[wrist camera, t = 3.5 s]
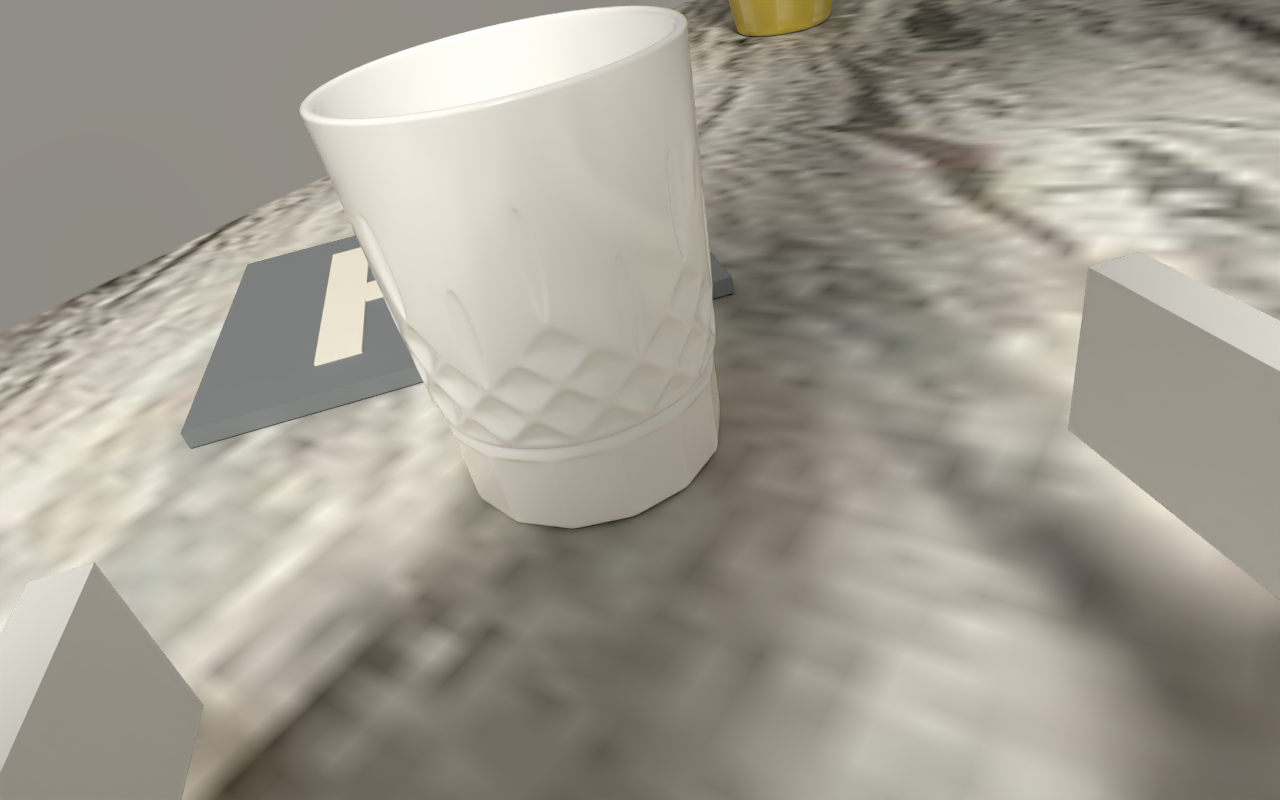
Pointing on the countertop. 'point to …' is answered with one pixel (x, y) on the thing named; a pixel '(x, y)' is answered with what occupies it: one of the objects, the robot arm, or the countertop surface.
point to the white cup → (542, 250)
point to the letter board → (308, 343)
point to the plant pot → (778, 15)
